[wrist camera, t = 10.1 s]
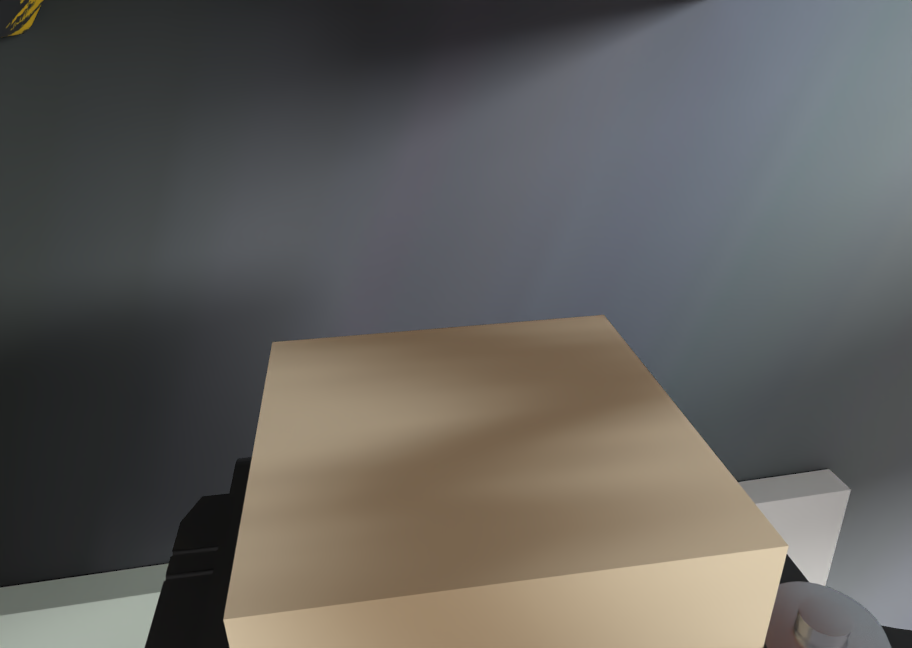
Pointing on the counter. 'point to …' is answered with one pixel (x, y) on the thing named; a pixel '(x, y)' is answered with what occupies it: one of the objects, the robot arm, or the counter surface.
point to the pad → (804, 516)
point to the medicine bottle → (17, 16)
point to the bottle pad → (82, 610)
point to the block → (490, 500)
